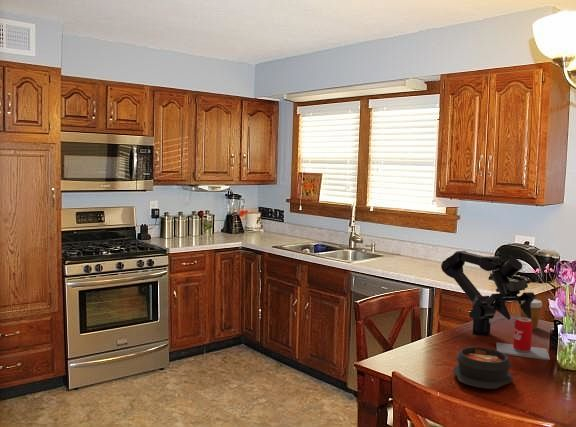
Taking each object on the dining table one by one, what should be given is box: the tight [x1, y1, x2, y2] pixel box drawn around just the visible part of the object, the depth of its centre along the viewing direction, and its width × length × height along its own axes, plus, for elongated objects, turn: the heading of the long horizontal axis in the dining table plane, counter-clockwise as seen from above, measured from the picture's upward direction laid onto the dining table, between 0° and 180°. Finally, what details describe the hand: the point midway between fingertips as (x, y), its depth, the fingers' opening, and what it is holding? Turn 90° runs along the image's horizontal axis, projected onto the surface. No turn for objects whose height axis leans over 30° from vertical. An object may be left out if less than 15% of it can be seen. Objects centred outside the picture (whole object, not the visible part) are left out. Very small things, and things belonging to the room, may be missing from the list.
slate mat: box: [495, 342, 551, 361], centre depth 204 cm, size 18×12×1 cm, turn 70°
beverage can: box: [512, 316, 533, 352], centre depth 204 cm, size 6×6×12 cm
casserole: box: [452, 346, 514, 390], centre depth 176 cm, size 25×19×8 cm
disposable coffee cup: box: [519, 298, 543, 330], centre depth 237 cm, size 10×10×12 cm
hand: (520, 318), depth 205 cm, fingers open, 9 cm apart
